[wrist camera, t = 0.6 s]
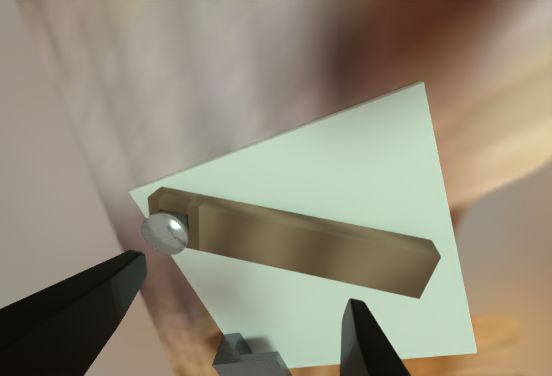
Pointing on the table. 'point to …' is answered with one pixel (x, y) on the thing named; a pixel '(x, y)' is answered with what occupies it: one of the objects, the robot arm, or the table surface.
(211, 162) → the base plate
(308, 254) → the link
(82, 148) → the table surface
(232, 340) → the keeper
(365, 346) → the robot arm
